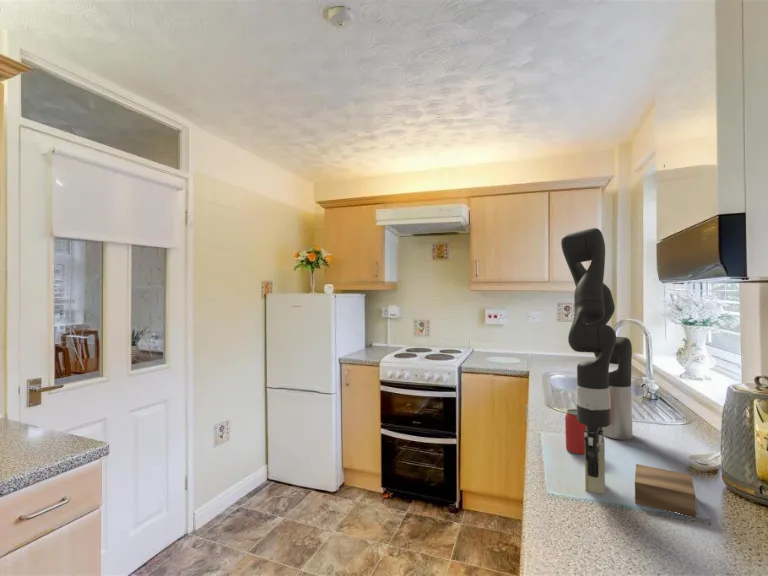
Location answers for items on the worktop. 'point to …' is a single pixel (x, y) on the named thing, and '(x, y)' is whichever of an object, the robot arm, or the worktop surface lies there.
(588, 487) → the skincare box
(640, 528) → the worktop surface
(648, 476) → the walnut block
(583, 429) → the beer can
